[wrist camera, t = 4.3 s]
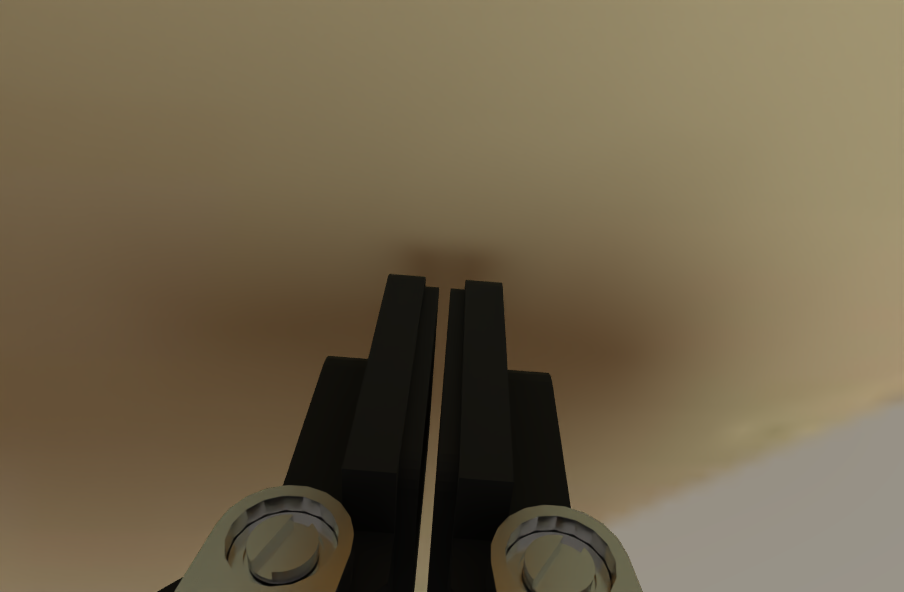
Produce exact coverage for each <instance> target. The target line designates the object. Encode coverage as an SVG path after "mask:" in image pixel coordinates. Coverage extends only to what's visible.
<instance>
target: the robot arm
mask: <svg viewBox="0 0 904 592" xmlns="http://www.w3.org/2000/svg"><path fill="white" fill-rule="evenodd" d="M425 284H426V277H420V276H407V275H394V274H389V276H388V279H387V283H386V287H385V291H384V296H383V300H382V304H381V308H380V312H379V316H378V320H377V325H376V329H375V333H374V337H373V341H372V345H371V349H370V354H369V358H368V359H361V358H348V357H335V356H328V357H327V358H326V360H325V362H324V364H323V367H322V370H321V373H320V376H319V379H318V382H317V385H316V388H315V391H314V394H313V397H312V400H311V403H310V406H309V409H308V412H307V415H306V418H305V421H304V424H303V427H302V430H301V433H300V436H299V439H298V442H297V445H296V448H295V451H294V454H293V457H292V460H291V463H290V466H289V469H288V472H287V475H286V478H285V481H284V484H283V486H279V487H273V488H267V489H264V490H262V491H259V492H257V493H254V494H251V495H249V496H247V497H245V498H244V499H242V500H241V501H239V502H238V503H237V504H235V505H234V506H232V507H231V508H229V509H228V511H227V512H226V513H225V514H224V515H223V517H222V518H221V519H220V520H219V521H218V522H217V524H216V525H215V527H214V528H213V530H212V531H211V533H210V535H209V536H208V538H207V540H206V541H205V543H204V544H203V546H202V548H201V549H200V551H199V552H198V554H197V556H196V557H195V559H194V561H193V562H192V564H191V565H190V567H189V569H188V570H187V572H186V573H185V575H184V577H182V578H180V579H179V580H177V581H175V582H173V583H172V584H170V585H168V586H166V587H165V588H163V589H161V590H159V591H158V592H414V588H415V577H416V567H417V556H418V546H419V535H420V525H421V514H422V503H423V493H424V482H425V472H426V461H427V451H428V439H429V426H430V412H431V398H432V383H433V369H434V355H435V340H436V326H437V312H438V297H439V288H438V287H425ZM427 592H643V591H642V589H641V586H640V584H639V581H638V579H637V576H636V574H635V571H634V569H633V566H632V564H631V562H630V559H629V556H628V554H627V553H626V551H625V549H624V548H623V546H622V544H621V542H620V541H619V540H618V538H617V537H616V536H615V535H614V534H613V533H612V532H611V531H610V530H609V529H608V528H607V527H606V526H605V525H604V524H603V523H601V522H599V521H598V520H596V519H594V518H593V517H591V516H589V515H588V514H586V513H584V512H580V511H577V510H574V509H571V506H570V499H569V492H568V486H567V479H566V472H565V465H564V459H563V452H562V445H561V439H560V432H559V425H558V418H557V412H556V405H555V398H554V391H553V385H552V380H551V375H550V374H549V373H541V372H528V371H515V370H507V353H506V336H505V319H504V301H503V285H502V283H496V282H484V281H471V280H466V282H465V290H463V289H451V292H450V304H449V317H448V329H447V342H446V355H445V367H444V380H443V392H442V405H441V417H440V430H439V443H438V456H437V469H436V482H435V495H434V508H433V521H432V535H431V548H430V561H429V574H428V587H427Z"/></svg>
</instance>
